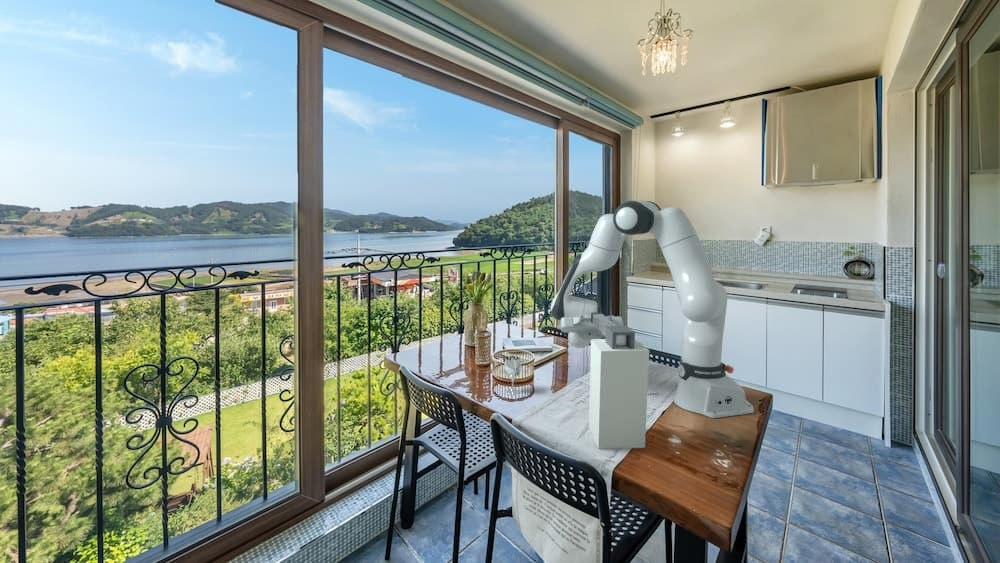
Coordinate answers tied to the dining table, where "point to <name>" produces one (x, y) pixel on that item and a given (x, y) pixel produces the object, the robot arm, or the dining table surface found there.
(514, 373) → the wineglass
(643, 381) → the tall white pillar
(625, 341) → the angular gray block
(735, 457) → the dining table surface
